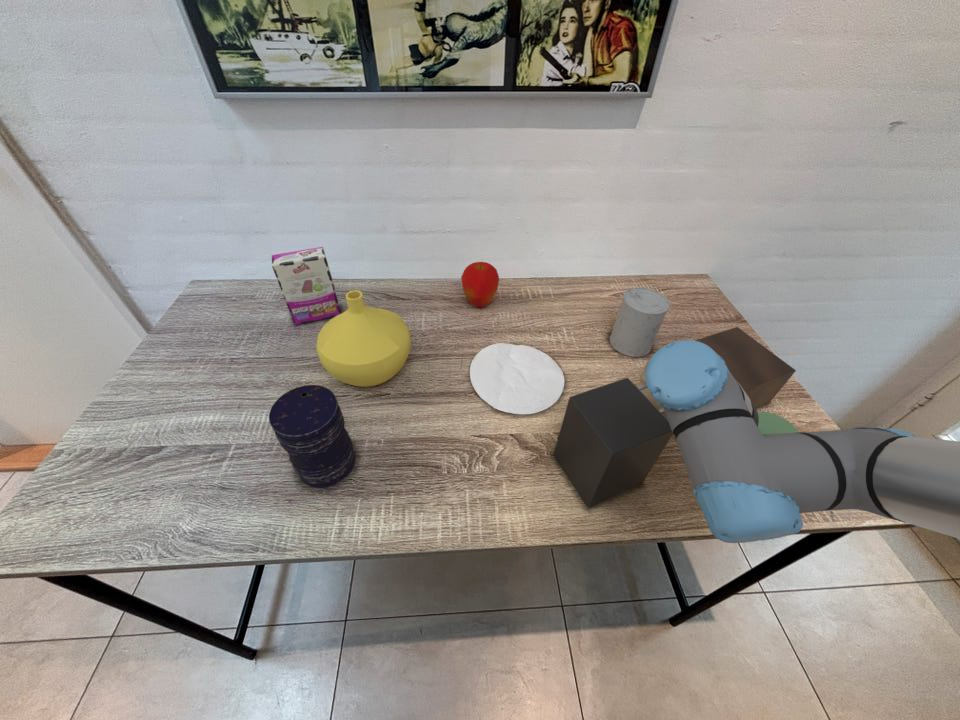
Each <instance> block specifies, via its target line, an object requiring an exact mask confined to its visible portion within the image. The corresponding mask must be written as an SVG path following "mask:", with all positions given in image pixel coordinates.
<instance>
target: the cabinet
mask: <svg viewBox="0 0 960 720" xmlns="http://www.w3.org/2000/svg"><path fill="white" fill-rule="evenodd" d="M694 341H698V342H701V343H704V344H706V345H707V346H709V347H710V348H712V349H713V350H714V351H715V352H716V353H717V354H718V355H719V356H721V357H722V358H723V359H724V361H725V363H726V365H727V368H728V369H729V371H730V373H731V374H732V376H733V377H734V379H735V380H736V381H737V382H738V383H739V384H740V385H741V387H742V388H743V390H744V391H745V392H746V394H747V395H748V397H749V398H750V400H751V402H752V403H753V405H754V406H755V408H756V410H757V409H760V408H762V407H764V406H766V405H769V404H770V403H771V402H772V401H773V399H775V397H776V396H777V394H778V393H779V392H780V391H781V390H782V389H783V387H784V386H785V385H786V384H787V382H788V381H789V380H790V379H791V378H792V376H793V375H794V374H795V372H796V371H797V370H796V369H795V368H793V367H792V366H790V365H789V364H788V363H787V362H785V361H784V360H783V359H781V358H780V357H779V356H777V355H776V354H775V353H773V352H772V351H771V350H769V349H768V348H767V347H766V346H764V345H763V344H762V343H760V342H759V341H757V340H756V339H754V337H752V336H750V335H749V334H748V333H747V332H745V331H744V330H742V329H741V328H740V327H738V326H735V327H732V328H729V329H726V330H723V331H719V332H717V333H714V334H710V335H707V336H704V337H701V338H698V339H695V340H694Z"/></svg>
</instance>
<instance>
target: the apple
mask: <svg viewBox="0 0 960 720" xmlns="http://www.w3.org/2000/svg"><path fill="white" fill-rule="evenodd" d="M460 279H461V286H462V291H463V294H464V296H465V298H466V300H467V301H468V303H469V304H471V305H472V306H473V307H476V308H485V307H486V306H488V305H489V304H491V303H492V302H493V300H494V297H495V296H496V294H497V291H498V287H499V284H500V277H499V273H498V270H497V269H496V268H495V266H494V265H492V264H491V263H489V262H485V261H475V262H472V263H470V264H468V265H467V266H466V267H465V268H464V270H463V272H462V275H461V278H460Z"/></svg>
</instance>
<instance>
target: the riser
mask: <svg viewBox="0 0 960 720" xmlns="http://www.w3.org/2000/svg"><path fill="white" fill-rule="evenodd" d="M636 386H637V385H635V384H634V383H633V382H632V381H631V379H630V378H628V377H624V378H622V379H619V380H615V381H613V382H610V383H607V384H604V385H602V386H598V387H595V388H593V389H590V390H586V391H583V392H580V393H577V394H573V395H571V396H569V398H568V401H567V403H566V404H567V405H566V407H565V408H566V409H565V411H564V416H563V419H562V423H561V426H560V430H559V433H558V437H557V441H556V443H555V444H556V445H555V448H554V451H553V456H554V459H556V461H557V463H558V464H559V466H560V467H561V469H562V470H563V472H564V474H565V475H566V476H567V478H568V480H569V482H570V483H571V485H573V487H574V489H575V491H576V492H577V494H578V495H579V497H580V498H581V501H583V503H584V505H585V507H586V508H587V509H590V508H592V507H594V506H595V507H596V506H597V505H599V504H602V503H604V502H606V501H608V500H611V499H613V498H615V497H618V496H619V495H622V494H625V493H626V492H629V491H631V490H633V489H636V488H638V487H640V486H642V485H643V483H644V482H645V480H646V478H647V477H648V475H649V474H650V472H651V470H652V469H653V467H654V466H655V464H656V462H657V460H658V459H659V457H660V456H661V454H662V452H664V449H665V448H666V446H667V444H668V443H669V441H670V440H671V438H672V436H673V433H672V430H671V427H670V425H669V422H668V421H667V420H666V418H665V417H664V416H663V415H662V414H661V413H660V412H659V411H658V410H657V409H656V408H655V407H654V406H653V404H652V403H651V402H650V401H649V400H648V399H647V398H646V397H645V396H644V395H643V394H642V393H641V392H640V390H639V389H638V388H637V387H636Z"/></svg>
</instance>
